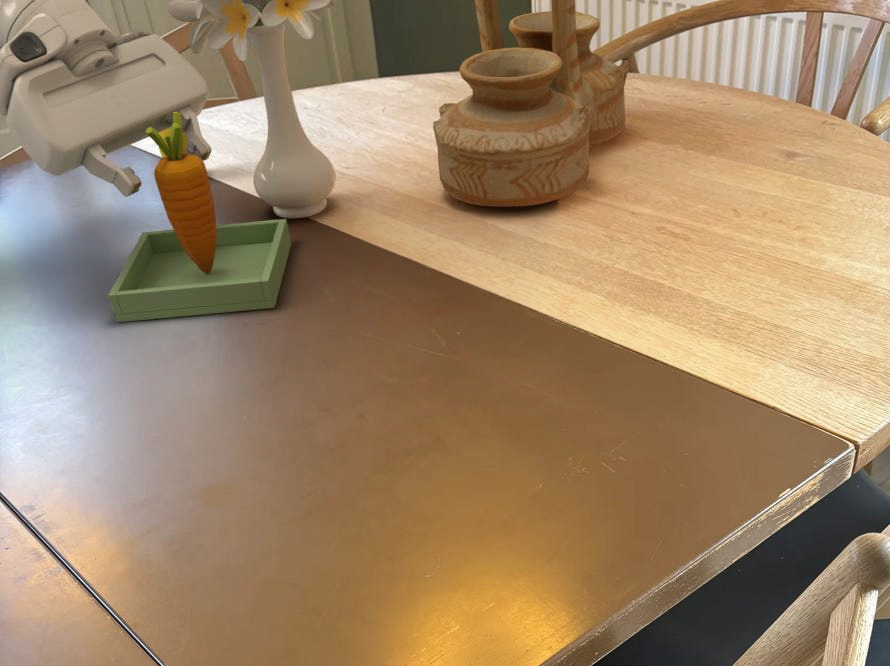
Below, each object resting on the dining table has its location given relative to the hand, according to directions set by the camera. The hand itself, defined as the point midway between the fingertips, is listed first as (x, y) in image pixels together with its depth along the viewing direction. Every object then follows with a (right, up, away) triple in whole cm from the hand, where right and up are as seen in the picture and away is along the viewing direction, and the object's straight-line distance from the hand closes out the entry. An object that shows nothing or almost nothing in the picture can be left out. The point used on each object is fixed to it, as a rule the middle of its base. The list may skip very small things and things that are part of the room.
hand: (170, 173), depth 98 cm
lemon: (-7, +14, +31) cm, 35 cm away
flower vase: (+8, +5, +20) cm, 22 cm away
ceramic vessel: (+37, +13, +25) cm, 46 cm away
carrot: (+2, -7, +7) cm, 10 cm away
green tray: (+2, -8, +7) cm, 11 cm away
